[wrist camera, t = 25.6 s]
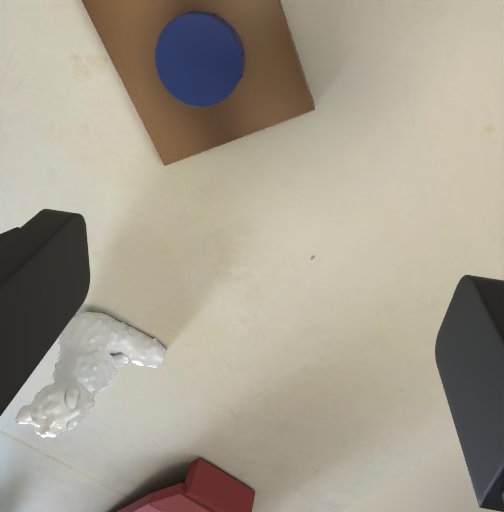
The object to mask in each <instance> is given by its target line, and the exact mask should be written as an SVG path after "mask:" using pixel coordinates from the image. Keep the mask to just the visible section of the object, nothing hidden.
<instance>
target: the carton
mask: <svg viewBox="0 0 504 512" xmlns="http://www.w3.org/2000/svg"><path fill="white" fill-rule="evenodd" d="M254 496H255V491H253V490H252V489H250V488H248V487H247V486H245V485H243V484H242V483H240V482H239V481H237V480H235V479H234V478H232V477H230V476H229V475H227V474H225V473H224V472H222V471H221V470H219V469H217V468H216V467H214V466H212V465H211V464H209V463H207V462H206V461H204V460H203V459H201V458H200V459H198V460H196V461H194V462H192V463H191V465H190V468H189V471H188V474H187V477H186V480H185V483H179V484H176V485H173V486H170V487H167V488H164V489H161V490H158V491H155V492H152V493H150V494H148V495H147V496H145V497H143V498H141V499H139V500H137V501H136V502H134V503H132V504H130V505H128V506H126V507H125V508H123V509H121V510H119V511H117V512H251V511H252V506H253V501H254Z"/></svg>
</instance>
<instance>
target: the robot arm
mask: <svg viewBox="0 0 504 512" xmlns="http://www.w3.org/2000/svg"><path fill="white" fill-rule="evenodd" d="M89 285H90V267H89V255H88V244H87V232H86V223H85V220H84V218H83V216H82V215H81V214H77V213H70V212H64V211H57V210H51V209H43V210H42V211H40V212H39V213H38V214H37V215H35V216H34V217H33V218H32V219H31V220H29V221H28V222H27V223H26V224H25V225H23V226H22V227H21V228H19V227H16V228H14V229H11V230H9V231H7V232H4V233H2V234H0V416H1V415H2V413H3V412H4V410H5V409H6V408H7V406H8V405H9V404H10V402H11V401H12V400H13V398H14V397H15V395H16V394H17V393H18V391H19V390H20V389H21V387H22V386H23V385H24V383H25V382H26V380H27V379H28V378H29V376H30V375H31V374H32V372H33V371H34V369H35V368H36V367H37V365H38V364H39V363H40V361H41V360H42V359H43V357H44V356H45V354H46V353H47V352H48V350H49V349H50V348H51V346H52V345H53V344H54V342H55V341H56V339H57V338H58V337H59V335H60V334H61V333H62V331H63V330H64V329H65V327H66V326H67V324H68V323H69V322H70V320H71V319H72V318H73V316H74V315H75V314H76V312H77V311H78V309H79V308H80V307H81V305H82V304H83V302H84V301H85V299H86V296H87V293H88V290H89ZM435 358H436V363H437V367H438V370H439V374H440V377H441V380H442V384H443V387H444V390H445V394H446V397H447V400H448V404H449V407H450V410H451V414H452V417H453V420H454V424H455V427H456V430H457V434H458V437H459V441H460V444H461V447H462V451H463V454H464V457H465V461H466V464H467V467H468V471H469V474H470V477H471V481H472V484H473V487H474V491H475V494H476V497H477V501H478V504H479V507H480V508H486V509H491V510H496V511H502V512H504V281H503V280H497V279H490V278H484V277H477V276H471V275H465V276H463V277H462V278H461V280H460V281H459V283H458V285H457V287H456V290H455V292H454V295H453V297H452V300H451V302H450V305H449V307H448V310H447V312H446V315H445V317H444V320H443V322H442V325H441V327H440V330H439V332H438V335H437V339H436V346H435Z"/></svg>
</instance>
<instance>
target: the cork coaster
mask: <svg viewBox="0 0 504 512" xmlns="http://www.w3.org/2000/svg"><path fill="white" fill-rule="evenodd" d="M82 2H83V4H84V6H85V8H86V10H87V12H88V14H89V16H90V18H91V20H92V22H93V24H94V26H95V28H96V30H97V32H98V34H99V36H100V38H101V40H102V42H103V44H104V46H105V48H106V50H107V52H108V54H109V56H110V58H111V60H112V62H113V64H114V66H115V68H116V70H117V72H118V74H119V76H120V78H121V80H122V82H123V84H124V86H125V88H126V90H127V92H128V94H129V96H130V98H131V100H132V102H133V104H134V106H135V108H136V110H137V112H138V114H139V116H140V118H141V120H142V122H143V124H144V126H145V128H146V130H147V132H148V134H149V136H150V138H151V140H152V142H153V144H154V146H155V148H156V150H157V152H158V154H159V156H160V158H161V160H162V162H163V164H164V166H166V165H169V164H171V163H174V162H177V161H179V160H182V159H185V158H187V157H190V156H193V155H195V154H198V153H201V152H203V151H206V150H209V149H211V148H214V147H217V146H219V145H222V144H225V143H227V142H230V141H233V140H235V139H238V138H241V137H243V136H246V135H249V134H251V133H254V132H257V131H259V130H262V129H265V128H267V127H270V126H273V125H275V124H278V123H281V122H283V121H286V120H289V119H291V118H294V117H297V116H299V115H302V114H305V113H307V112H310V111H313V110H315V105H314V102H313V99H312V96H311V93H310V90H309V87H308V84H307V81H306V78H305V75H304V72H303V69H302V66H301V63H300V60H299V57H298V54H297V51H296V48H295V45H294V42H293V39H292V36H291V33H290V30H289V27H288V24H287V21H286V18H285V15H284V12H283V9H282V5H281V2H280V0H82ZM190 11H194V12H198V11H202V12H210V13H213V14H214V13H217V15H218V16H220V17H222V18H223V19H225V20H226V21H227V22H228V23H229V24H230V25H231V26H232V27H233V28H235V29H236V30H235V31H236V32H237V34H238V36H239V38H240V40H241V42H242V45H243V49H244V51H245V53H244V56H245V64H244V70H243V77H242V78H241V79H240V81H239V83H238V84H237V86H236V87H235V89H234V90H233V91H232V92H231V94H230V96H229V97H228V98H225V99H224V100H223V101H221V102H219V103H217V104H215V105H212V106H208V107H195V106H191V105H188V104H185V103H183V102H181V101H179V100H178V99H176V98H175V97H174V96H172V95H171V94H170V93H169V92H168V91H167V89H166V88H165V87H164V85H163V83H162V82H161V80H160V78H159V75H158V72H157V69H156V64H155V50H156V44H157V41H158V38H159V36H160V34H161V32H162V31H163V29H164V28H165V27H166V26H167V24H168V23H169V22H171V21H172V20H174V19H175V18H177V17H179V16H181V15H184V14H188V13H189V12H190Z"/></svg>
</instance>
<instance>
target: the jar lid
mask: <svg viewBox="0 0 504 512" xmlns="http://www.w3.org/2000/svg"><path fill="white" fill-rule="evenodd" d="M235 30H236V29H235V28H233V27H232V26H231V25H230V24H229V23H228V22H227V21H226V20H225V19H223V18H222V17H220V16H218V15H217V13H214V14H213V13H210V12H202V11H198V12H194V11H190V12H189V13H188V14H184V15H181V16H179V17H177V18H175V19H174V20H172V21H171V22H169V23H168V24H167V26H166V27H165V28H164V29H163V31H162V32H161V34H160V36H159V38H158V41H157V44H156V50H155V64H156V69H157V72H158V75H159V78H160V80H161V82H162V83H163V85H164V87H165V88H166V89H167V91H168V92H169V93H170V94H171V95H172V96H174V97H175V98H176V99H178V100H179V101H181V102H183V103H185V104H188V105H191V106H195V107H208V106H212V105H215V104H217V103H219V102H221V101H223V100H224V99H225V98H228V97H229V96H230V94H231V92H232V91H233V90H234V89H235V87H236V86H237V84H238V83H239V81H240V79H241V78H242V77H243V70H244V64H245V56H244V53H245V51H244V49H243V45H242V42H241V40H240V38H239V36H238V34H237V32H236V31H235Z"/></svg>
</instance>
